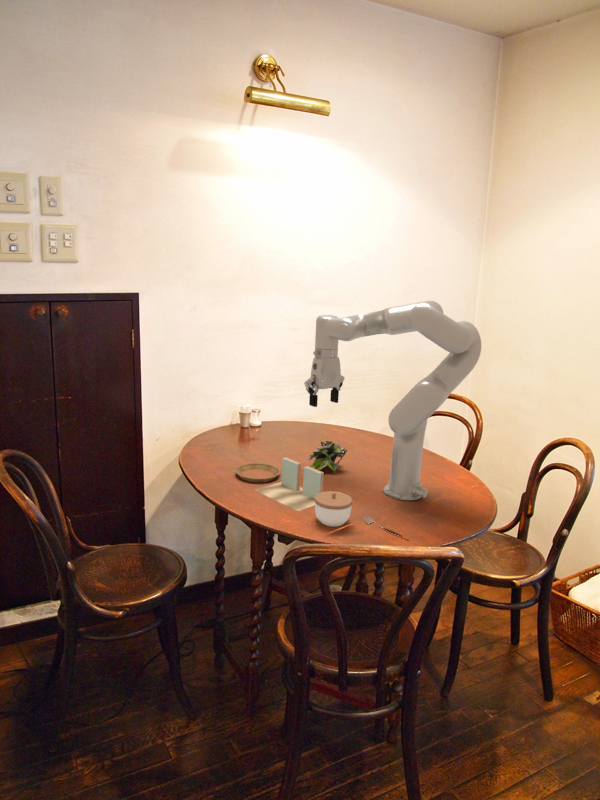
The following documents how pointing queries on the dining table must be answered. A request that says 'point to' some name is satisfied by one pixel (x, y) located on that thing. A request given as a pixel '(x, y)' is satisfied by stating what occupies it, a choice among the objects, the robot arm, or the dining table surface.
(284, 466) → the tile
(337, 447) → the passion flower
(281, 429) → the dining table surface
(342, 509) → the lidded jar
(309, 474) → the tile
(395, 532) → the fork
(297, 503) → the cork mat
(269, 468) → the plant saucer
